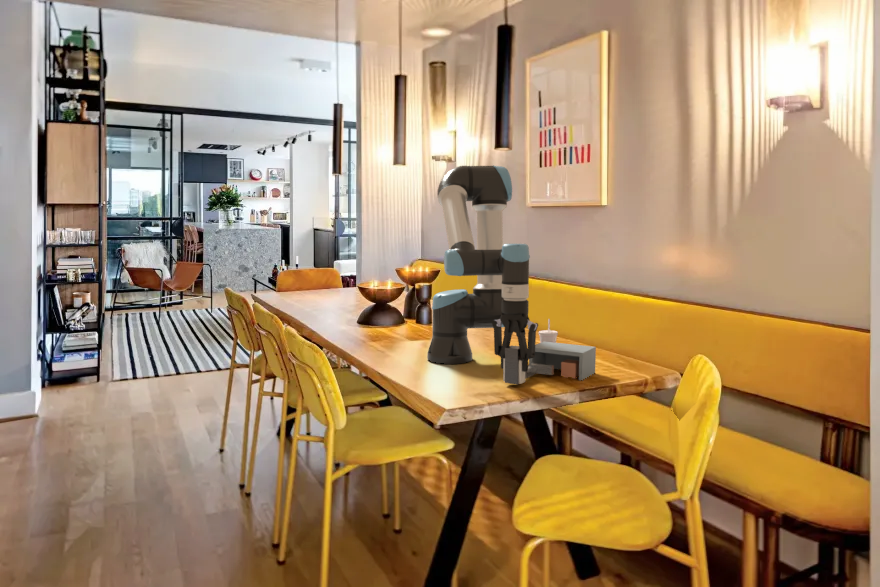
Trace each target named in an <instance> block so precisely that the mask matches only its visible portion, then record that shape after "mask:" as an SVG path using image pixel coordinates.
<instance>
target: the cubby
mask: <svg viewBox="0 0 880 587" xmlns="http://www.w3.org/2000/svg"><path fill="white" fill-rule="evenodd" d="M596 353H597V347H596V346H591V345H581V344H580V345H579V344H572V343H571V344H570V343H561V342H556V343H554V342H541V343H540V342H539V343H535V357H533V358H531V359H529V360H528V366H529V365H531V364H532V363H543V364H551V365H554V370H559V369H561V362H563V361H565V360H567V359H568V360H577V361H579V377H578V381H581V380H582V381H584V380H586V379H588V378H589V376H590V375H591V376H593V375H595V374H596V362H597V361H596V358H597V357H596V356H597V354H596ZM594 373H595V374H594ZM592 374H593V375H592ZM591 376H590V377H591ZM587 377H588V378H587ZM585 378H586V379H585ZM583 379H584V380H583Z"/></svg>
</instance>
